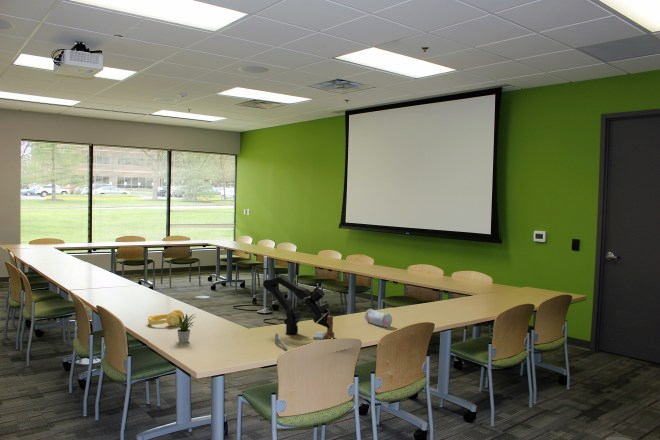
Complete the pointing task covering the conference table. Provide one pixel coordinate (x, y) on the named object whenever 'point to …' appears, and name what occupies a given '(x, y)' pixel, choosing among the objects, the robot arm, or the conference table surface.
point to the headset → (169, 318)
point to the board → (319, 335)
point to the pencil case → (378, 318)
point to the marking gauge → (329, 332)
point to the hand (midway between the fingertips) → (331, 326)
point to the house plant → (184, 328)
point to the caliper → (280, 342)
